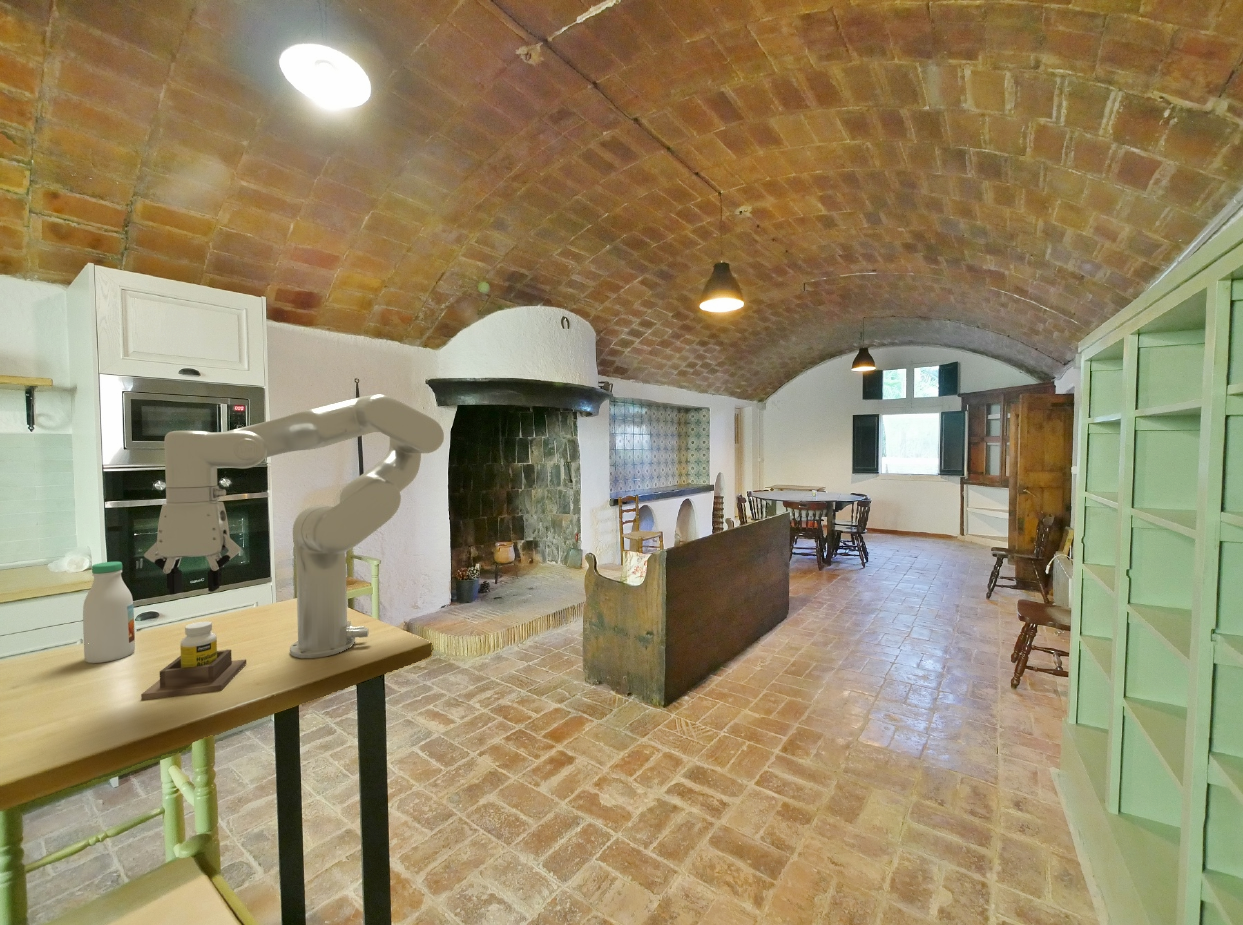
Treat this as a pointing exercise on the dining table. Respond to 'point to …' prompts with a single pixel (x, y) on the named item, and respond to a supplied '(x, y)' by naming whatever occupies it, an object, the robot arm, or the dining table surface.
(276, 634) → the dining table surface
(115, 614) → the milk bottle
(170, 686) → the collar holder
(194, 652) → the supplement bottle
